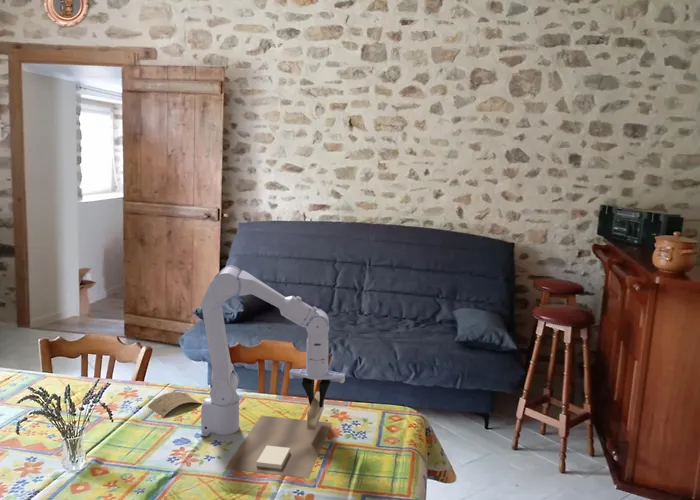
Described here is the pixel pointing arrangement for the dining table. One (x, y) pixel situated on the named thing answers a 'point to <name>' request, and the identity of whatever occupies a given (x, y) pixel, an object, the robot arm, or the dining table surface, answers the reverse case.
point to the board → (281, 435)
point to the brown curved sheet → (169, 402)
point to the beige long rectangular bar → (314, 412)
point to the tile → (273, 457)
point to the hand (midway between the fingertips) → (316, 405)
